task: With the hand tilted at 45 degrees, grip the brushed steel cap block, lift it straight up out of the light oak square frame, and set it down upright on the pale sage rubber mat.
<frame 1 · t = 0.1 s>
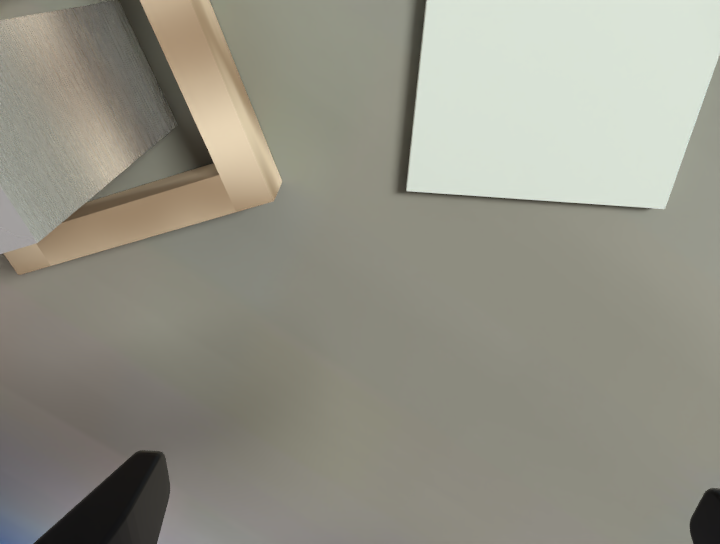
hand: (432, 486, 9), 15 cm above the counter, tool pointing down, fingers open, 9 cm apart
oak socket frame: (88, 87, 21), on the counter
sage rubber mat: (562, 61, 20), on the counter
steel cap block: (89, 86, 21), resting in oak socket frame
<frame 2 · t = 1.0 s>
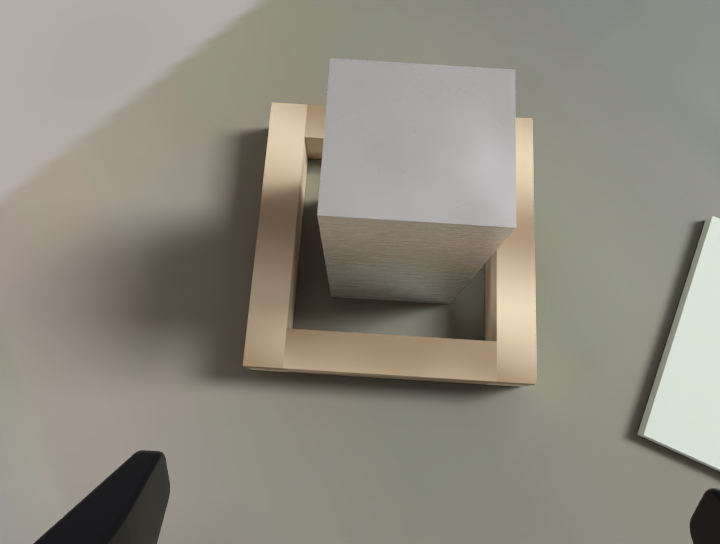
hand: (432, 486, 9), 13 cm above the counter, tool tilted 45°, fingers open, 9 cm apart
oak socket frame: (392, 249, 24), on the counter
steel cap block: (392, 249, 24), resting in oak socket frame
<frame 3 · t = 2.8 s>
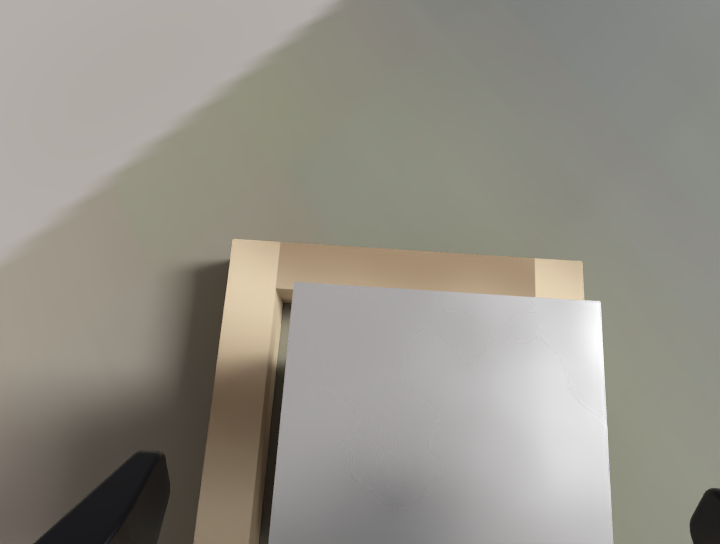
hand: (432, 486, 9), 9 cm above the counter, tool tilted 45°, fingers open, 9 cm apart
oak socket frame: (394, 431, 18), on the counter
steel cap block: (394, 431, 18), resting in oak socket frame
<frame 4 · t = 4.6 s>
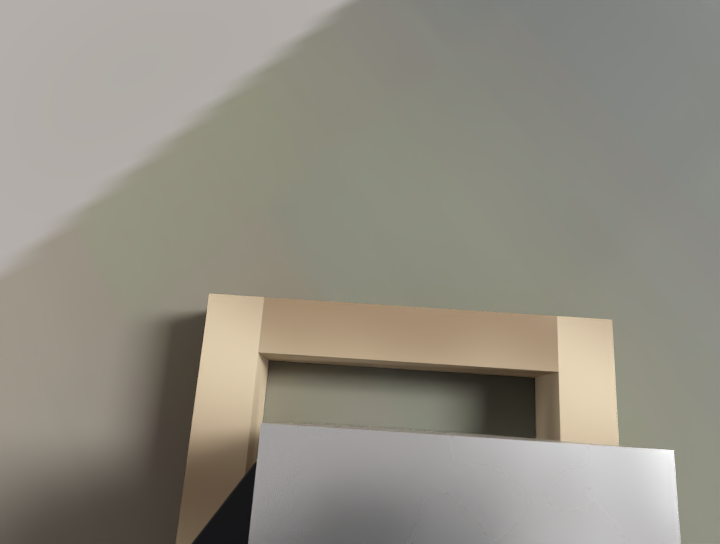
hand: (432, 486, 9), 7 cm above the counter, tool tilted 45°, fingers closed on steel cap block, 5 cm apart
oak socket frame: (395, 512, 16), on the counter
steel cap block: (395, 511, 16), resting in oak socket frame, touching gripper
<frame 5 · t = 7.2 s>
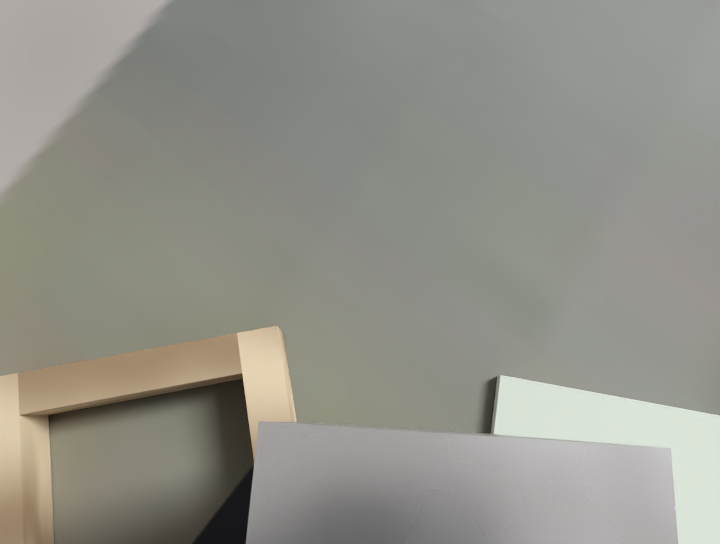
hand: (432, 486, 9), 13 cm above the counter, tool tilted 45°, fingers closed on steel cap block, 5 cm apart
oak socket frame: (160, 502, 21), on the counter
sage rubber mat: (613, 532, 21), on the counter
steel cap block: (394, 510, 16), point 6 cm above the counter, touching gripper
when the fingers open (8 cm above the counter, at t = 9.9 s): steel cap block stays where it is, resting on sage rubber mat.
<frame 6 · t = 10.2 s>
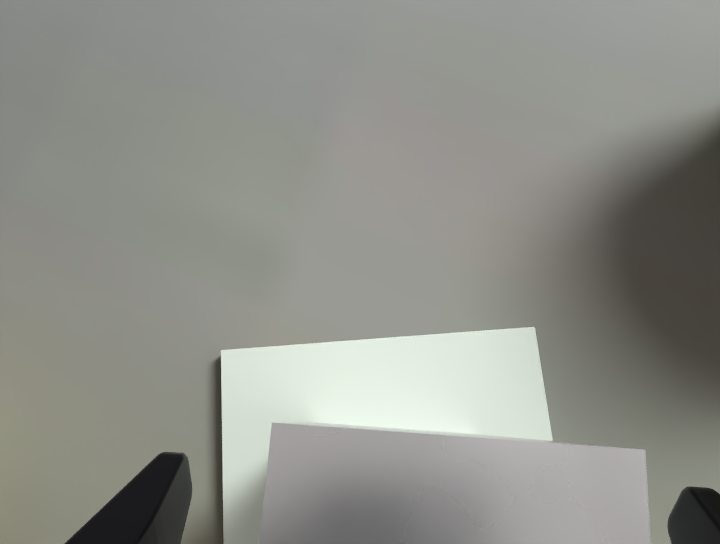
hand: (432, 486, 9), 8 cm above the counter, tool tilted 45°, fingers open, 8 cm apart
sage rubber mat: (392, 504, 17), on the counter
steel cap block: (394, 507, 17), resting on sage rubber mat
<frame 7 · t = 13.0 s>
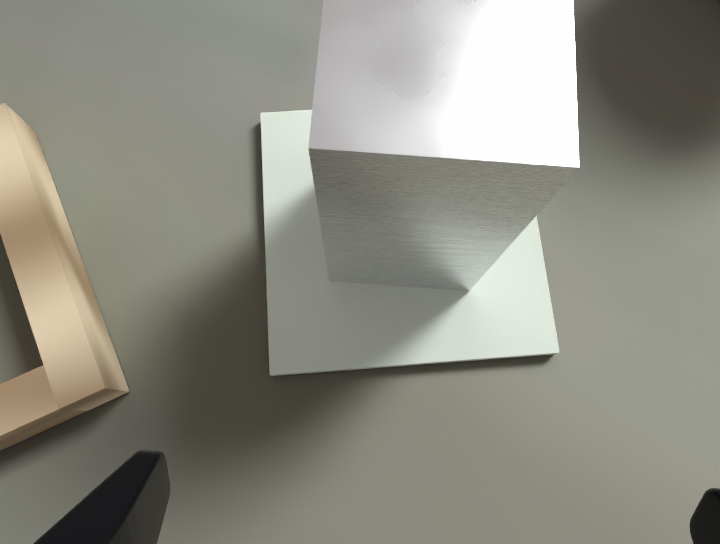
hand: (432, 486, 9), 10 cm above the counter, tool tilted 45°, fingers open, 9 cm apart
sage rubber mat: (400, 230, 21), on the counter
steel cap block: (402, 226, 21), resting on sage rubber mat
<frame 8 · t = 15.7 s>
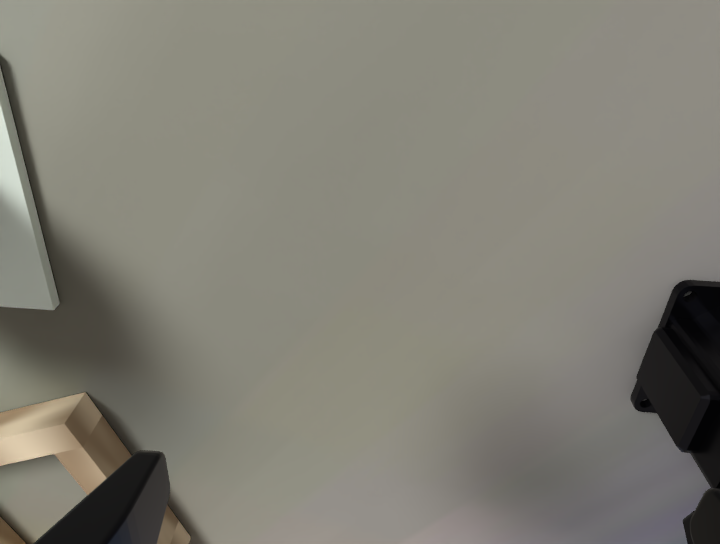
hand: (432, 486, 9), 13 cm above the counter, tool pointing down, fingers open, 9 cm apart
oak socket frame: (50, 490, 30), on the counter
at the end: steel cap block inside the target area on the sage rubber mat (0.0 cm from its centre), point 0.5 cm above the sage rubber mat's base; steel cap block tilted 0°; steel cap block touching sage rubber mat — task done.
